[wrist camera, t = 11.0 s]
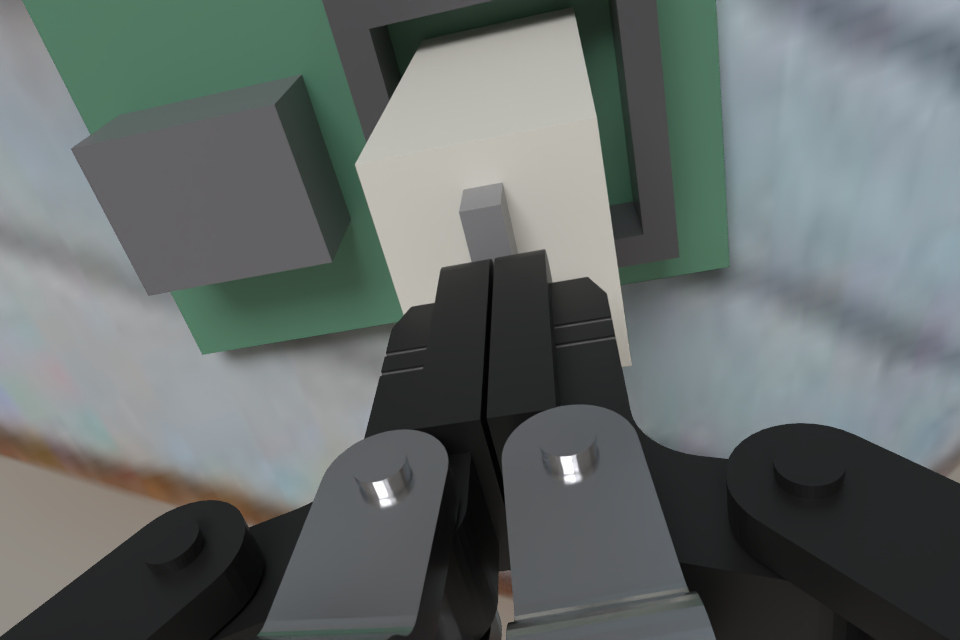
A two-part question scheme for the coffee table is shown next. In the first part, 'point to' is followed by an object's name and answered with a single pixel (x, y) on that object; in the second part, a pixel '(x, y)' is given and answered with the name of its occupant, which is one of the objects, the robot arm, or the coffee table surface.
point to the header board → (350, 143)
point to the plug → (493, 161)
